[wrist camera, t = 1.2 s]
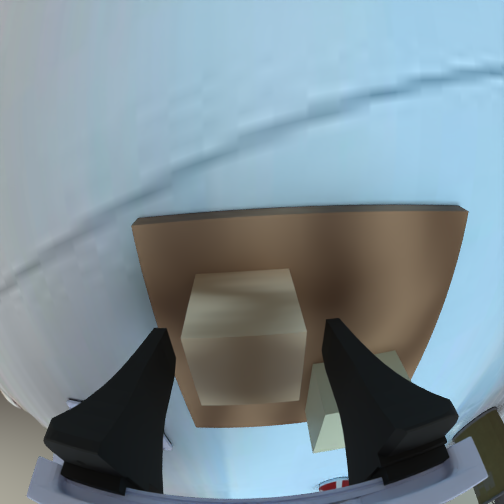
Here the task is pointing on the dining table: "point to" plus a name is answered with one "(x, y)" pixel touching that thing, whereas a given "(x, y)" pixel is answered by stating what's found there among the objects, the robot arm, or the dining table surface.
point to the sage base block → (333, 406)
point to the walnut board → (309, 280)
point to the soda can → (334, 484)
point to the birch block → (245, 337)
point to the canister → (488, 453)
